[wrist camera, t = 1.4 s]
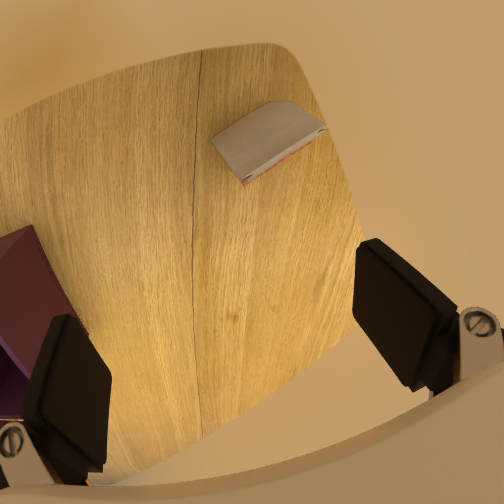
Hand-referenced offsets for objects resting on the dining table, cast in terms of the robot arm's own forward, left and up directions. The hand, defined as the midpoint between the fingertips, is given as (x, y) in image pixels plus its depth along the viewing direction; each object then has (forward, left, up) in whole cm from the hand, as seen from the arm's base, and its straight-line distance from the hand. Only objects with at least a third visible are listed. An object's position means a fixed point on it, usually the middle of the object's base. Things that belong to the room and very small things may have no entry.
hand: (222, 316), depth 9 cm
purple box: (+8, -25, -21) cm, 34 cm away
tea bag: (-2, +6, -21) cm, 22 cm away
